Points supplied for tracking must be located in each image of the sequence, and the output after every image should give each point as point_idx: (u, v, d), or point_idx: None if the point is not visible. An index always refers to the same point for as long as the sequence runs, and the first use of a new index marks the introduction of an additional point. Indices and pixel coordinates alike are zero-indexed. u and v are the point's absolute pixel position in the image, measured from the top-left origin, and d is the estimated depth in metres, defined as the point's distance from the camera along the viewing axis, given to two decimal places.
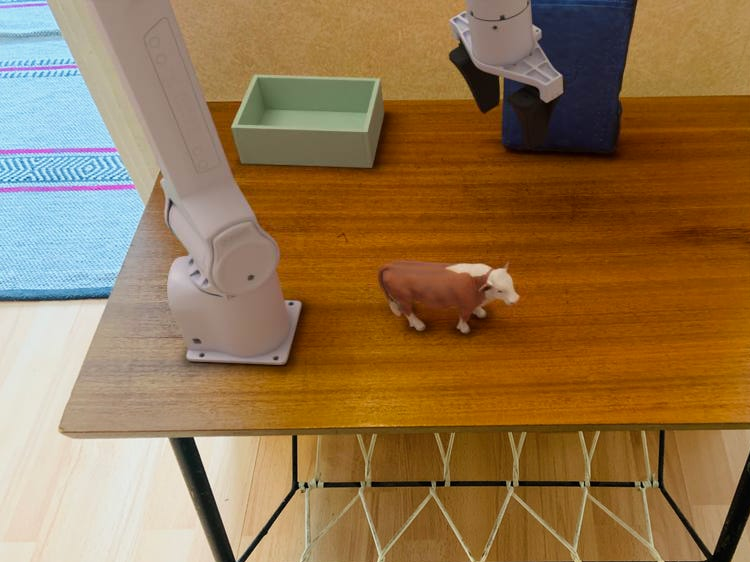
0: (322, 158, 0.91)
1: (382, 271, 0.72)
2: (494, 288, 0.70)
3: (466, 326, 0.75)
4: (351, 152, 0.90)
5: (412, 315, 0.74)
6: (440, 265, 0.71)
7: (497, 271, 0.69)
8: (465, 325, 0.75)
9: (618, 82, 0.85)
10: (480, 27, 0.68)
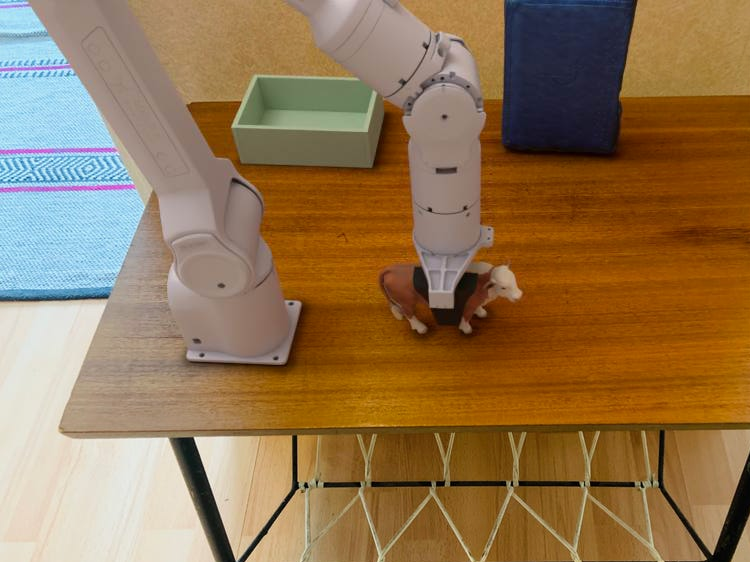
0: (322, 158, 0.91)
1: (383, 274, 0.71)
2: (497, 285, 0.70)
3: (468, 326, 0.75)
4: (351, 152, 0.90)
5: (414, 318, 0.74)
6: None
7: (500, 268, 0.69)
8: (467, 325, 0.75)
9: (618, 82, 0.85)
10: (412, 204, 0.64)
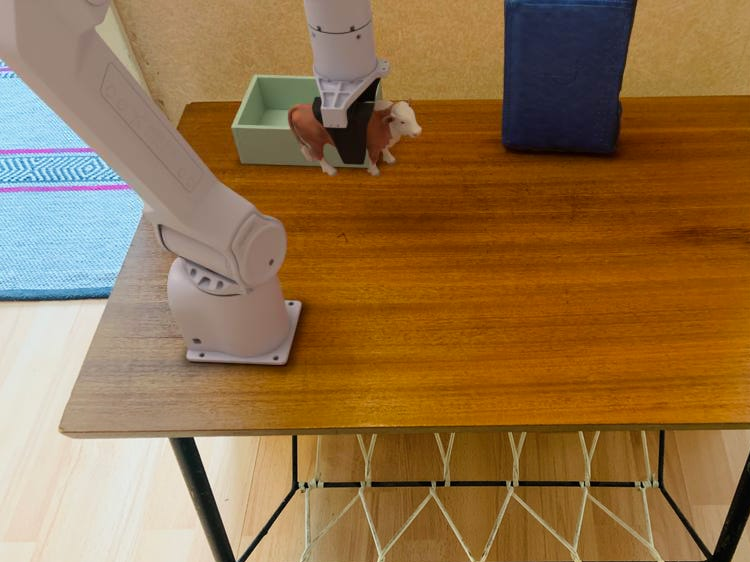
0: None
1: (291, 112, 0.75)
2: (397, 120, 0.74)
3: (376, 169, 0.79)
4: None
5: (324, 159, 0.78)
6: None
7: (399, 103, 0.73)
8: (375, 168, 0.79)
9: (618, 82, 0.85)
10: (308, 29, 0.68)
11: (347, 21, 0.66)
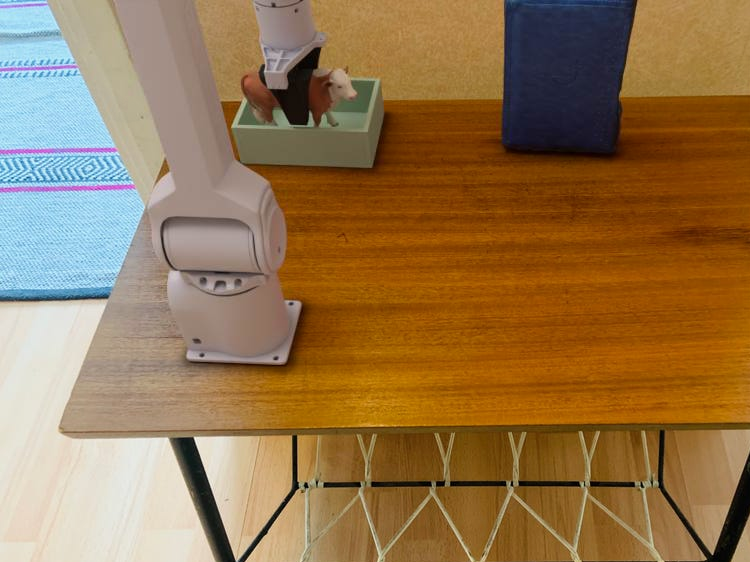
0: (322, 158, 0.91)
1: (243, 79, 0.86)
2: (335, 85, 0.85)
3: None
4: (351, 152, 0.90)
5: (273, 121, 0.89)
6: None
7: (336, 69, 0.84)
8: None
9: (618, 82, 0.85)
10: (253, 4, 0.79)
11: None
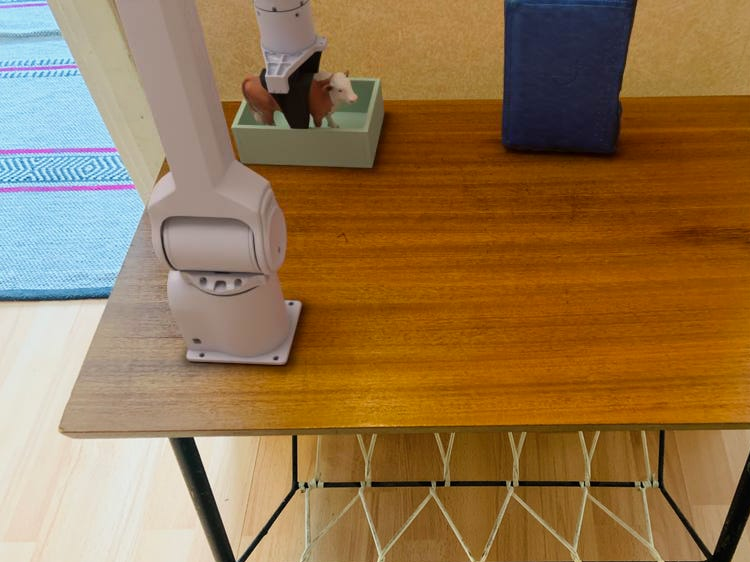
0: (322, 158, 0.91)
1: (244, 83, 0.87)
2: (335, 88, 0.85)
3: None
4: (351, 152, 0.90)
5: (274, 125, 0.90)
6: None
7: (336, 73, 0.85)
8: None
9: (618, 82, 0.85)
10: None
11: None
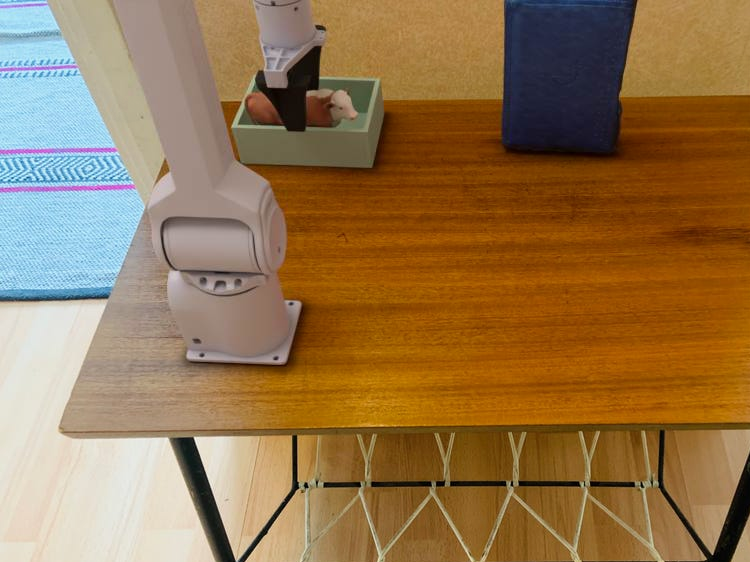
0: (322, 158, 0.91)
1: (247, 100, 0.88)
2: (336, 106, 0.87)
3: None
4: (351, 152, 0.90)
5: None
6: None
7: (337, 91, 0.86)
8: None
9: (618, 82, 0.85)
10: (253, 3, 0.79)
11: None
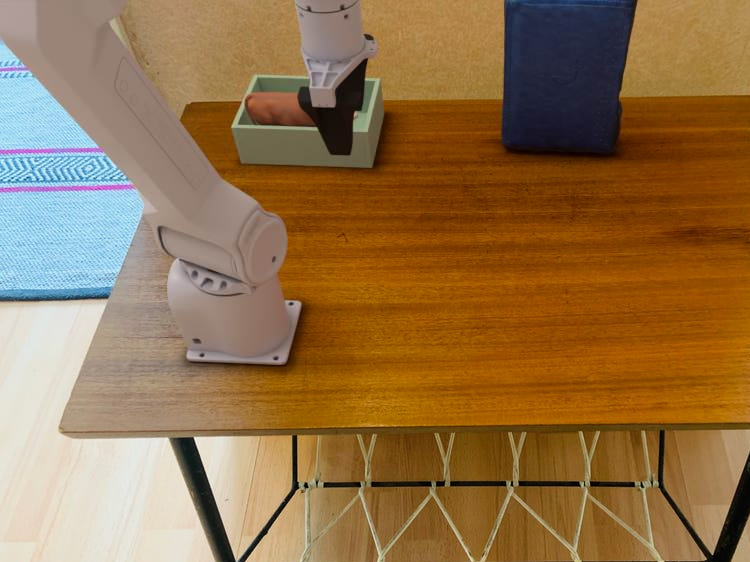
0: (322, 158, 0.91)
1: (247, 100, 0.88)
2: None
3: None
4: (351, 152, 0.90)
5: None
6: (294, 93, 0.88)
7: None
8: None
9: (618, 82, 0.85)
10: (296, 9, 0.68)
11: (337, 0, 0.66)
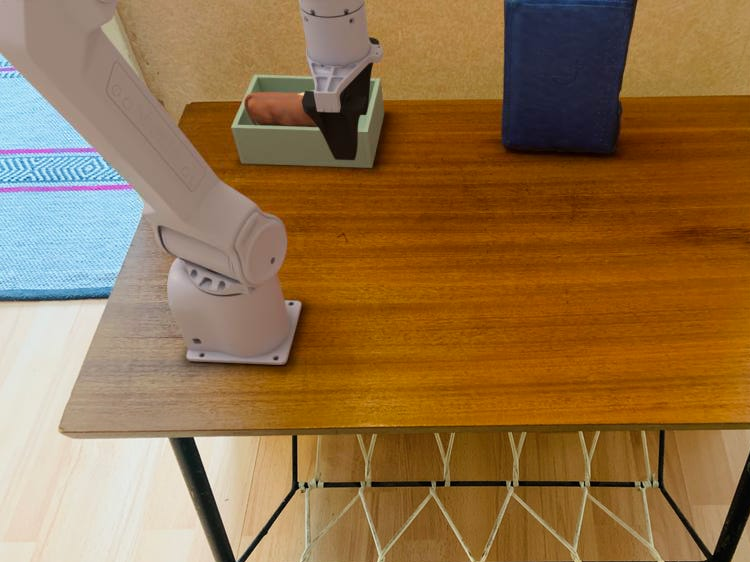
0: (322, 158, 0.91)
1: (247, 100, 0.88)
2: None
3: None
4: None
5: None
6: (294, 93, 0.88)
7: None
8: None
9: (618, 82, 0.85)
10: None
11: (341, 4, 0.65)
